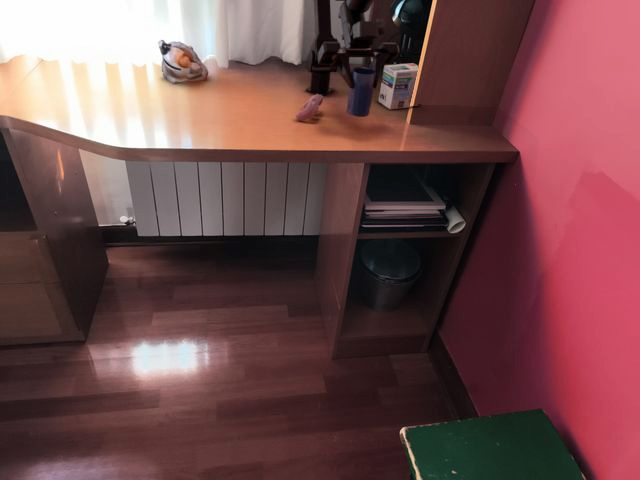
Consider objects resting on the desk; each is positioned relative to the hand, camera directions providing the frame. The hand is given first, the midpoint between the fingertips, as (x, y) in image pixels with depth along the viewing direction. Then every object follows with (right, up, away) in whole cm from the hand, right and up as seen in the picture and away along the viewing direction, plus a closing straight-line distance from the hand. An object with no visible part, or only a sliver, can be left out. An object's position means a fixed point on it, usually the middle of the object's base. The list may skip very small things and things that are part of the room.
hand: (363, 87), depth 107 cm
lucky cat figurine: (-51, +12, +31) cm, 61 cm away
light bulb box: (+13, +5, +29) cm, 32 cm away
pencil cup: (-1, -4, +5) cm, 7 cm away
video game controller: (-13, -3, +16) cm, 21 cm away
